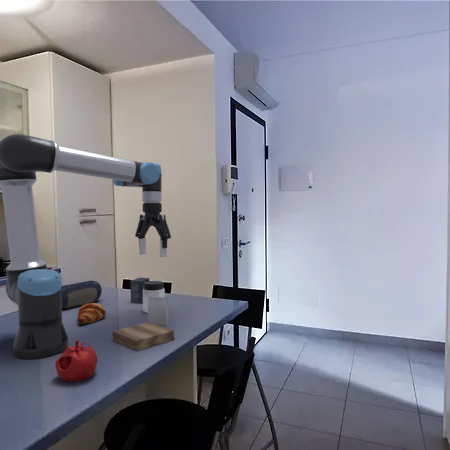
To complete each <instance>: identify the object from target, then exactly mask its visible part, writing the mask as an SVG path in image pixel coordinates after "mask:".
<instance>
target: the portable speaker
mask: <svg viewBox="0 0 450 450" xmlns="http://www.w3.org/2000/svg"><path fill="white" fill-rule="evenodd" d="M101 285H102V284H100V282H98V281H96V280H86V281H82V282H76V283H70V284H65V285H62V287H61V290H62V310H66V309H69V308H74V307H79V306H83V305H85V304H88V303H96V301H98V300H99V299H100V298H101V296H102V286H101Z"/></svg>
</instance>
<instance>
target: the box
mask: <svg viewBox="0 0 450 450" xmlns="http://www.w3.org/2000/svg"><path fill="white" fill-rule="evenodd" d="M148 281H150V278H149V277H137V278H134V279H131V280H130V303H131V304H140V305H141V304H143V289H144V282H148Z"/></svg>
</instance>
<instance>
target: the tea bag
mask: <svg viewBox="0 0 450 450" xmlns="http://www.w3.org/2000/svg"><path fill="white" fill-rule="evenodd" d="M169 306H170V305H169V300H168V297H167V296H165V297H149V306H148V313H147V318H148V321H147V322H151V323H154V324H157V325H160V326H163V327H166V326H168V325H169V322H170V321H169V320H170V316H169V315H170V313H169V312H170V311H169V310H170V308H169Z"/></svg>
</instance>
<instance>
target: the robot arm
mask: <svg viewBox="0 0 450 450" xmlns="http://www.w3.org/2000/svg"><path fill="white" fill-rule="evenodd" d="M54 171H57V172H62V173H63V172H64V173H69V174H76V175H82V176H89V177H94V178H102V179H108V180H112V184H113V185H114V186H116V187H123V188H125V187H128V188H130V187H131V188H133V187H134V188H142V191H141V192H142V193H141V194H142V198H141V199H142V202H143V203H142V212H143V213H144V214H139V220H138V223H137V228H136V230H135V231H136V232H135V235H134V236H135V237H136V238H138V251H139V255H140V256H143V255H147V244H146V243H147V241H146V240H147V239H146V235H147V233H148V231H149V229H150V228H151V227H154V228H155V230H156V233H157V234H158V236H159V237H160V239H159V257H160V258H165V257H167V254H168V253H167V248H168V240H169V239H172V236H171V231H170V228H169V225H168V222H167V216H166V214H160V213H162V212H163V207H162V203H161V202H162V176H163V175H162V167H161V165H160V164H159V163H156V162H155V163H154V162H151V161H146V162H141V161H135V160H130V159H126V158H120V157H115V156H109V155H105V154H101V153H96V152H91V151H86V150H80V149H76V148H71V147H66V146H61V145H58V144H57V143H56V142H55V141H54V140H50V139H49V140H48V139H44V138H40V137H36V136H32V135H28V134H27V135H26V134H22V133H21V134H20V133H15V134H13V133H12V134H9V135H7V136H5V137H4V138H2V139H1V140H0V188H1V194H2V202H3V203H2V204H3V211H4V218H5V225H6V226H5V227H6V236H7V243H8V250H9V251H8V252H9V259H10V263H9V264H8V266H6V268H5V271H6V279H7V280H6V283H5V292H6V294H7V295H6V296H7V298H9V300H10V301H11V302H13V304H15V305H17V306H18V328H17V332H16V335H15V338H14V341H13V345H12V356H14V357H15V358H17V359H18V358H19V359H24V360H25V359H26V360H28V359H29V360H30V359H39V358H40V359H41V358H42V359H43V358H47V357H52V356H54V355H57V354H58V355H59V354H60V353H63V352H64V351H65V350H66V349H67V348H69V347H63V346H70V344H69V342H70V341H69V340H70V339H69V336H68V334H67V332H66V329H65V326H64V323H63V312H62V311H63V309H62V290H61V287H62V286H63V281H62V277H61V274H60V273H59V272H58V271H56V270H53V269H47V262H46V261H44V260H42V259H41V252H40V245H39V236H38V227H37V218H36V210H35V209H36V208H35V202H34V201H35V199H34V192H33V186H34V184H35V183H36V182H37V174H36V173H41V172H42V173H47V174H48V173H49V174H51V173H53V172H54Z"/></svg>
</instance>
